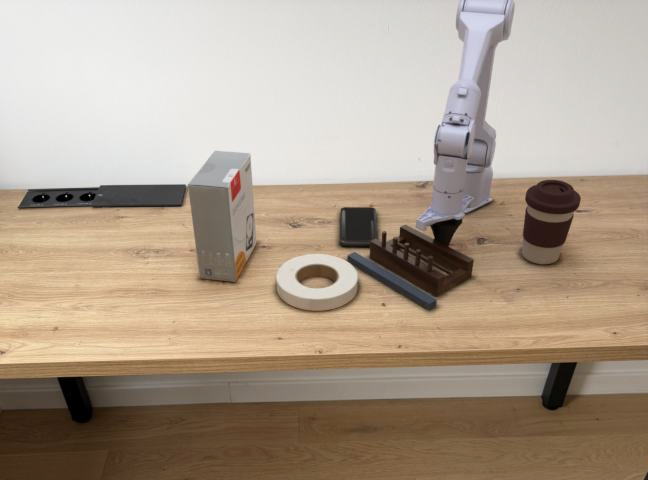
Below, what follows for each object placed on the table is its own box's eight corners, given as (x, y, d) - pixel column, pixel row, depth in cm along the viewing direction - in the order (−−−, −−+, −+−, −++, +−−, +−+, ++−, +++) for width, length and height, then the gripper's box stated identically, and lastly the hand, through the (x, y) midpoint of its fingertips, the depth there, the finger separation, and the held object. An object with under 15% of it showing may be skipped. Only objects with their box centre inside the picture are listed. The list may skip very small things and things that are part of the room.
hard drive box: (236, 283, 131) (226, 188, 119) (198, 279, 132) (184, 184, 120) (258, 242, 143) (250, 151, 130) (223, 239, 144) (212, 149, 132)
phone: (339, 241, 140) (340, 206, 152) (339, 246, 141) (340, 211, 153) (378, 242, 140) (376, 207, 151) (377, 247, 141) (376, 211, 152)
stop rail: (354, 258, 138) (354, 251, 137) (436, 306, 125) (437, 299, 124) (347, 261, 137) (347, 255, 136) (428, 310, 124) (429, 303, 123)
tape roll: (363, 270, 134) (364, 257, 132) (349, 316, 123) (349, 303, 121) (287, 261, 137) (286, 249, 135) (266, 306, 125) (265, 293, 124)
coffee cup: (508, 261, 136) (521, 192, 126) (521, 238, 143) (535, 171, 133) (559, 273, 132) (576, 203, 123) (570, 249, 139) (587, 181, 129)
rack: (404, 241, 143) (406, 211, 138) (471, 277, 132) (476, 245, 127) (369, 258, 138) (370, 227, 133) (436, 296, 127) (440, 264, 122)
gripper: (438, 206, 122) (431, 270, 131) (490, 182, 129) (480, 244, 138) (409, 193, 126) (404, 256, 135) (461, 170, 133) (453, 231, 142)
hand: (441, 249), depth 137 cm, fingers closed
